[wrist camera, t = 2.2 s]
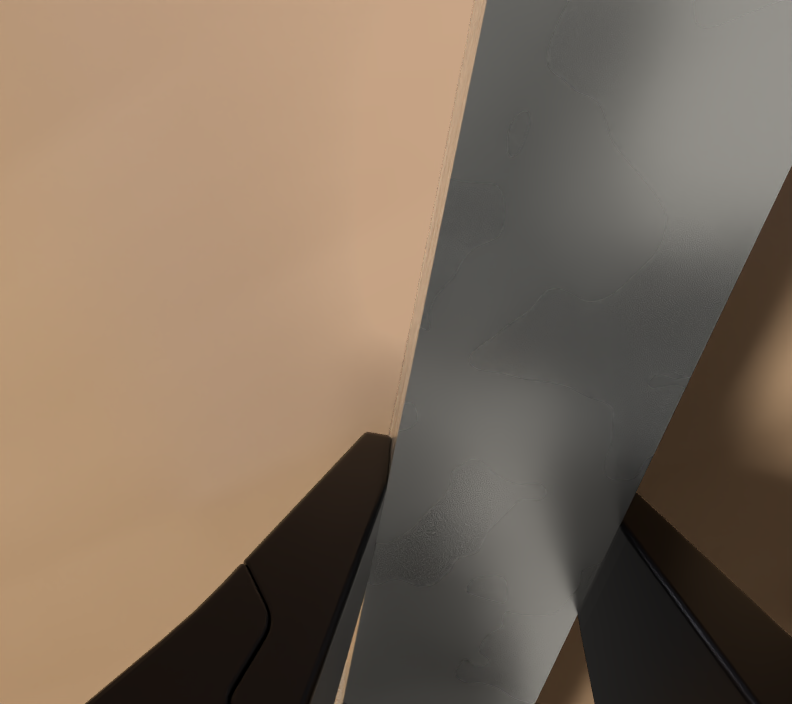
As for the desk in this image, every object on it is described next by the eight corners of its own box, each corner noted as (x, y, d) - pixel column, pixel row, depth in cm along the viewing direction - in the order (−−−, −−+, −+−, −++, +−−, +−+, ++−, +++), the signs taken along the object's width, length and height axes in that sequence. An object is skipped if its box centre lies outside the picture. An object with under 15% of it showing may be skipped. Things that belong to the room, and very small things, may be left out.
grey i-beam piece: (478, 760, 15) (484, 887, 13) (299, 731, 15) (275, 854, 13) (973, -387, 5) (1333, -664, 3) (483, -489, 5) (515, -846, 3)
